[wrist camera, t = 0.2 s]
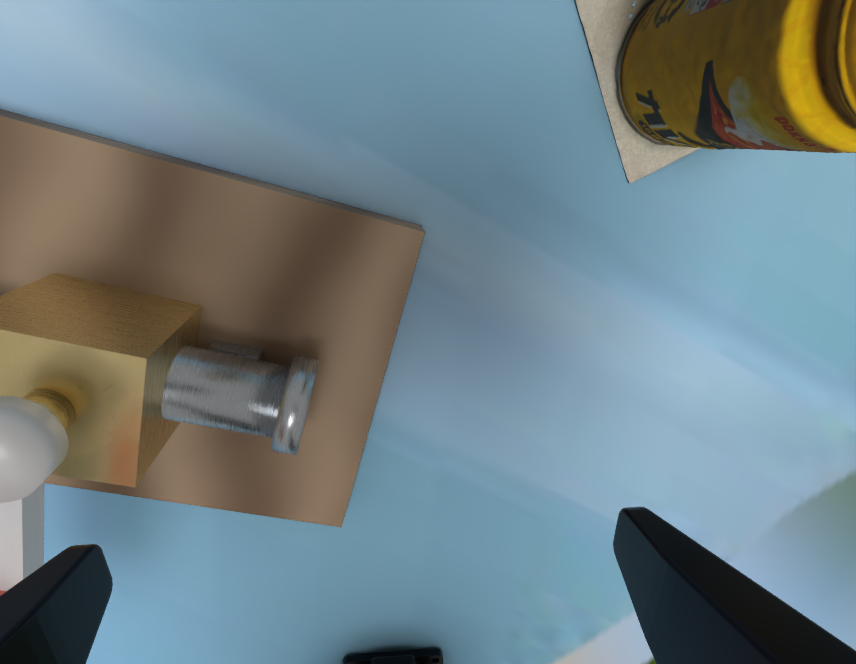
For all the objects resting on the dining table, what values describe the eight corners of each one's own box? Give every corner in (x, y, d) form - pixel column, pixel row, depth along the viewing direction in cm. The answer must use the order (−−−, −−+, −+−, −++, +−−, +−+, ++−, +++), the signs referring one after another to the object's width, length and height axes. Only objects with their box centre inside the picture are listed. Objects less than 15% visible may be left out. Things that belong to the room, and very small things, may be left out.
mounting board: (422, 226, 21) (425, 232, 20) (343, 506, 27) (341, 527, 25) (-171, 61, 17) (-220, 55, 16) (-121, 433, 22) (-154, 453, 21)
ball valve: (325, 333, 21) (304, 410, 15) (303, 431, 23) (277, 534, 17) (-97, 238, 18) (-328, 288, 12) (-86, 360, 20) (-283, 454, 14)
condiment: (627, 183, 21) (892, 233, 10) (565, -26, 18) (853, -275, 7) (784, 105, 21) (1244, 70, 10) (748, -125, 18) (1375, -568, 7)
